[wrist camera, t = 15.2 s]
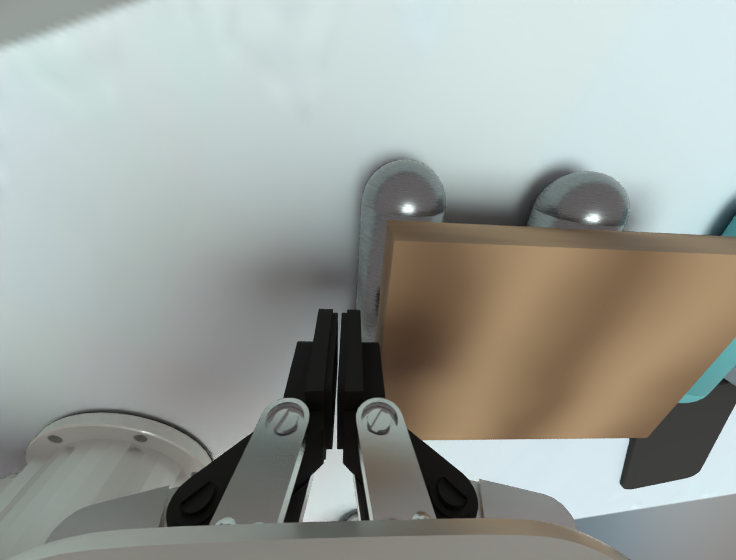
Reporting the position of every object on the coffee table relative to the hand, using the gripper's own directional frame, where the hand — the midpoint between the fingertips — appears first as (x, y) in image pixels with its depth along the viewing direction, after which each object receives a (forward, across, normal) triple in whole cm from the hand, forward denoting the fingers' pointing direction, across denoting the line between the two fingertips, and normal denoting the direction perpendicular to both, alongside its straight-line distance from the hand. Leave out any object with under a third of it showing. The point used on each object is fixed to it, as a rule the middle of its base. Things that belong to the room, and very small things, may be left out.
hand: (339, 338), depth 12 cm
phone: (+6, -29, +16) cm, 34 cm away
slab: (+1, -9, 0) cm, 9 cm away
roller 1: (+5, -2, 0) cm, 6 cm away
